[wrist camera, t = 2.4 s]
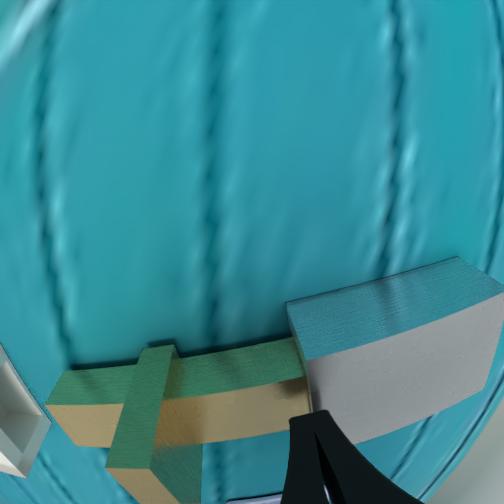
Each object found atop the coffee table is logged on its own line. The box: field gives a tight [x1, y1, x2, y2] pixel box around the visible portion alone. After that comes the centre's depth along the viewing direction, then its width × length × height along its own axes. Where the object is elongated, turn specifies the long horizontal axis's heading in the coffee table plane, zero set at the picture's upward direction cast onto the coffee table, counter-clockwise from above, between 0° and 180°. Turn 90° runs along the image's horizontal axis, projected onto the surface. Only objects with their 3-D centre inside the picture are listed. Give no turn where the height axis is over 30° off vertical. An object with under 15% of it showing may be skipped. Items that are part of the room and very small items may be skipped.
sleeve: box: [285, 257, 504, 445], centre depth 12 cm, size 6×9×4 cm, turn 101°
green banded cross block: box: [45, 337, 311, 504], centre depth 11 cm, size 5×20×6 cm, turn 102°
